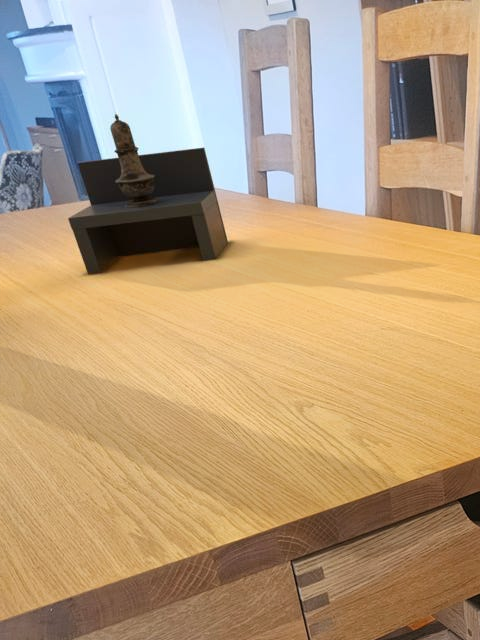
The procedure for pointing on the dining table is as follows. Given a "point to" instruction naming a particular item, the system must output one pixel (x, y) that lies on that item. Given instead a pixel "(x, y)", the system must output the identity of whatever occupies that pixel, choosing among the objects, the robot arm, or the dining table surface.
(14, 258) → the dining table surface
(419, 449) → the dining table surface
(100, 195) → the bench
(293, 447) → the dining table surface
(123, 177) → the salt shaker
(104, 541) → the dining table surface
